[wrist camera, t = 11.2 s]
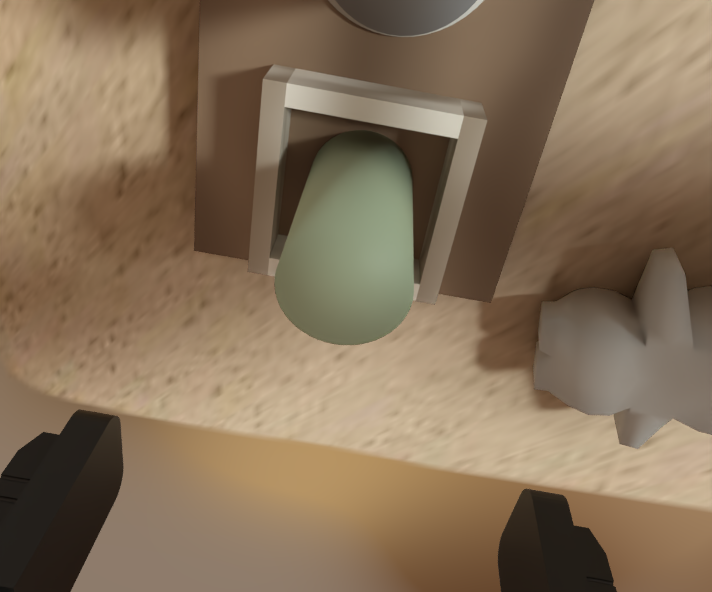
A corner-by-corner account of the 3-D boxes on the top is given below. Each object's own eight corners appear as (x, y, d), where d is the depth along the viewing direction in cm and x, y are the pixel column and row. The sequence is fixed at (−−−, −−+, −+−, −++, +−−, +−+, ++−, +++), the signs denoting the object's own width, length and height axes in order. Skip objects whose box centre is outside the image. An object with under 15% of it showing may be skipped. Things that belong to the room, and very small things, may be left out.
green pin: (422, 140, 24) (428, 241, 17) (401, 233, 26) (398, 355, 19) (317, 121, 24) (281, 214, 17) (304, 216, 26) (268, 332, 19)
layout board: (653, -218, 19) (833, -293, 11) (487, 284, 29) (517, 437, 21) (220, -306, 18) (77, -451, 10) (203, 234, 28) (123, 371, 20)
